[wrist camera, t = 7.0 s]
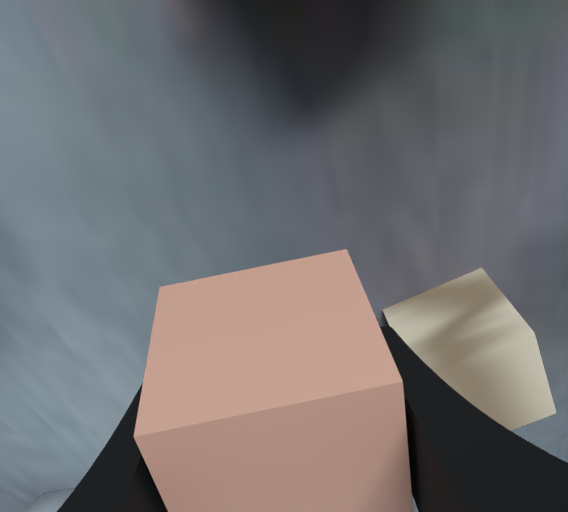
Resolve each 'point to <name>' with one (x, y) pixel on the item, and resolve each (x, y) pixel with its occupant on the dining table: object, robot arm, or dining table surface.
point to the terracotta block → (274, 394)
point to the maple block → (477, 347)
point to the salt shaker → (51, 501)
